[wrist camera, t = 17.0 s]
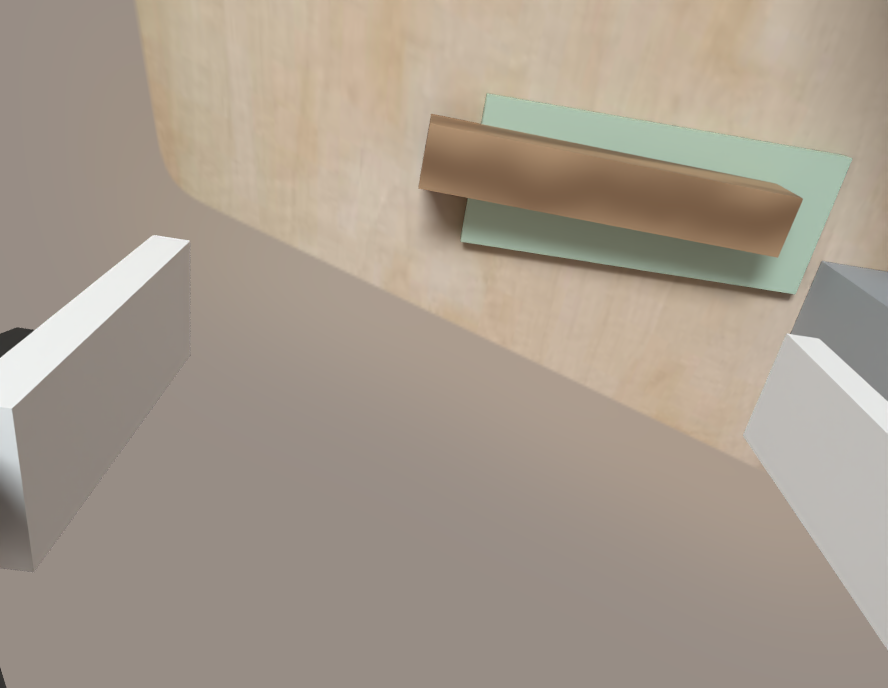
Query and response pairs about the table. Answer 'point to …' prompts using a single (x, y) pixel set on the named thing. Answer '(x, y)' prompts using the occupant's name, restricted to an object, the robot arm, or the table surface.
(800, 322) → the stand
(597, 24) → the table surface
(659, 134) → the mat
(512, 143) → the walnut bar
